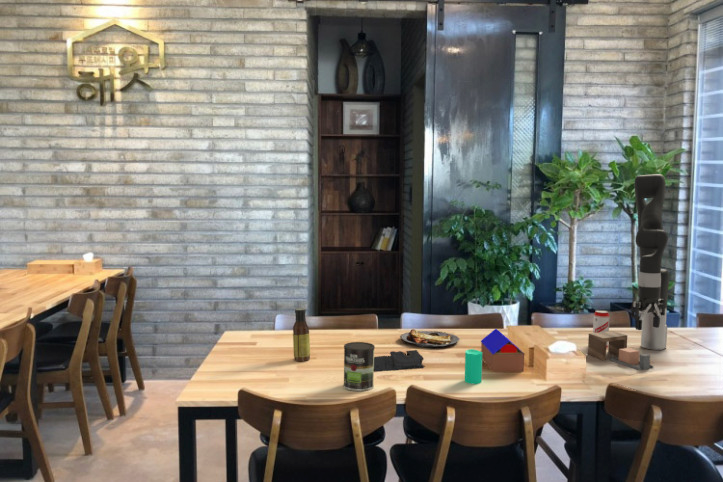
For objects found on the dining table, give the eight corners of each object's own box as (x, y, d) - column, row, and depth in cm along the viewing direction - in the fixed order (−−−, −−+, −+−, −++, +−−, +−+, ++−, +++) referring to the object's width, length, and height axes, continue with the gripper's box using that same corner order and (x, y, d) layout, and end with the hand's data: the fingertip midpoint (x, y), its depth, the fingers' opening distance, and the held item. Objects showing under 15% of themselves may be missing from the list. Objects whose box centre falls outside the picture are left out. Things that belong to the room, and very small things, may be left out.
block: (628, 360, 258) (629, 347, 258) (638, 364, 254) (639, 351, 253) (618, 362, 256) (619, 349, 256) (628, 365, 251) (629, 352, 251)
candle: (462, 378, 238) (463, 345, 237) (479, 378, 239) (480, 345, 238) (466, 384, 232) (467, 349, 231) (483, 383, 233) (484, 349, 232)
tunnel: (610, 355, 271) (611, 330, 270) (626, 360, 264) (627, 335, 263) (587, 358, 266) (588, 333, 265) (602, 363, 259) (603, 338, 258)
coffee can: (367, 393, 222) (368, 350, 221) (338, 389, 226) (339, 347, 224) (378, 384, 232) (378, 343, 230) (350, 380, 235) (350, 340, 234)
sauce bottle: (312, 358, 262) (312, 308, 260) (306, 362, 256) (306, 311, 254) (297, 357, 264) (297, 306, 262) (290, 361, 258) (290, 309, 256)
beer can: (609, 351, 277) (611, 313, 275) (593, 350, 278) (594, 312, 276) (606, 347, 283) (608, 310, 281) (591, 347, 284) (592, 309, 282)
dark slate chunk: (360, 362, 259) (360, 350, 259) (413, 358, 266) (413, 346, 265) (372, 373, 245) (372, 360, 244) (428, 369, 251) (429, 356, 251)
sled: (622, 360, 262) (623, 345, 261) (653, 370, 249) (654, 354, 248) (609, 362, 259) (610, 347, 258) (639, 372, 246) (640, 356, 245)
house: (492, 372, 247) (493, 341, 246) (480, 357, 267) (480, 328, 266) (524, 372, 248) (525, 340, 246) (510, 357, 267) (511, 328, 266)
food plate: (392, 344, 284) (393, 336, 284) (409, 333, 306) (410, 325, 305) (450, 352, 275) (451, 344, 275) (464, 340, 296) (464, 332, 296)
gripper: (655, 281, 251) (653, 324, 253) (626, 284, 245) (624, 328, 247) (672, 284, 244) (669, 328, 246) (643, 287, 238) (640, 332, 240)
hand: (647, 328), depth 246 cm, fingers open, 8 cm apart
